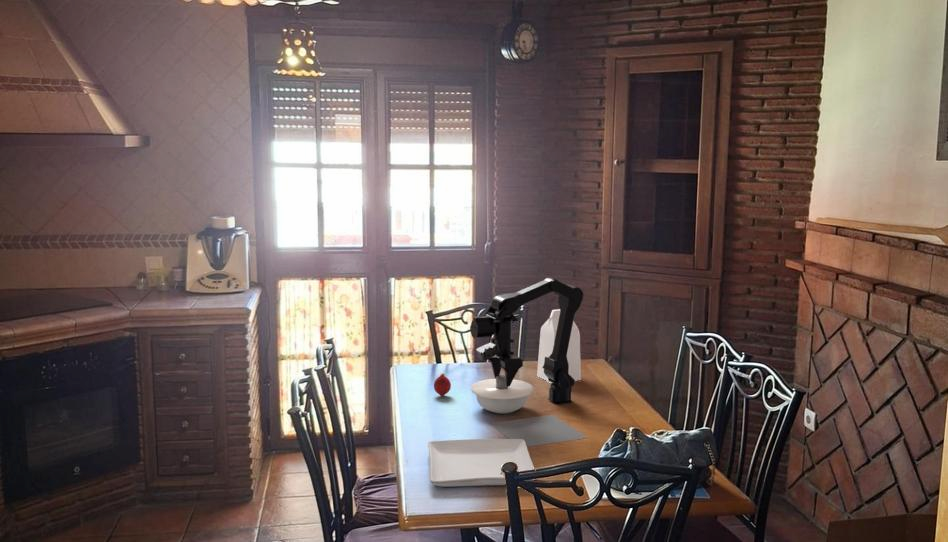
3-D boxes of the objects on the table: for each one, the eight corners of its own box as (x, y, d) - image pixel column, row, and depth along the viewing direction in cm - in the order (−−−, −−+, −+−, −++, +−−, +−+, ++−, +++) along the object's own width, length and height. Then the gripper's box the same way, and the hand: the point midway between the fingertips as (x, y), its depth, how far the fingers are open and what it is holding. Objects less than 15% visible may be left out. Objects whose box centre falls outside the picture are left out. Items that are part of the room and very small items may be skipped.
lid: (517, 378, 278) (517, 366, 277) (543, 395, 260) (543, 382, 259) (462, 384, 271) (462, 371, 270) (485, 402, 252) (485, 389, 252)
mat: (553, 415, 261) (553, 414, 261) (587, 439, 241) (587, 437, 241) (489, 424, 253) (489, 423, 253) (520, 449, 233) (520, 447, 233)
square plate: (427, 452, 231) (427, 439, 231) (524, 450, 233) (524, 437, 233) (429, 493, 204) (429, 478, 204) (538, 490, 206) (538, 476, 206)
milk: (565, 373, 310) (566, 305, 305) (580, 381, 299) (582, 311, 295) (536, 376, 305) (538, 308, 301) (552, 385, 294) (553, 314, 290)
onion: (448, 399, 277) (448, 376, 276) (432, 398, 279) (431, 375, 277) (452, 394, 283) (452, 371, 282) (436, 393, 284) (436, 370, 283)
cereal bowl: (495, 399, 278) (495, 379, 277) (537, 408, 268) (537, 387, 267) (465, 412, 264) (465, 391, 263) (508, 422, 255) (509, 401, 254)
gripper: (468, 331, 268) (468, 377, 271) (491, 344, 251) (490, 393, 253) (499, 328, 272) (499, 373, 275) (523, 341, 255) (523, 389, 258)
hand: (502, 382), depth 265 cm, fingers open, 9 cm apart
